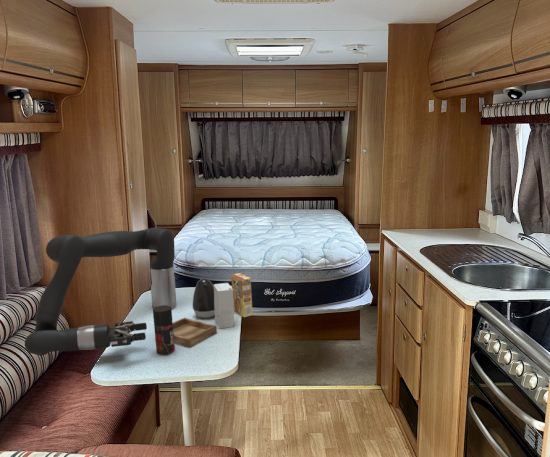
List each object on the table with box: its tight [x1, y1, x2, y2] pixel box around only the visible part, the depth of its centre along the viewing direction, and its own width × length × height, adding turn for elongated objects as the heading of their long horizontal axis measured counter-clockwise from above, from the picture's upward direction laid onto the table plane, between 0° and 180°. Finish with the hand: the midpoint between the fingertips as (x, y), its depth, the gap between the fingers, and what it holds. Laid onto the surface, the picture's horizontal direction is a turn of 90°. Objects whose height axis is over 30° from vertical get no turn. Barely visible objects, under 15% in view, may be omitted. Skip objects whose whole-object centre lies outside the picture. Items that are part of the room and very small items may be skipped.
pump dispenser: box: [192, 277, 215, 319], centre depth 198 cm, size 10×10×15 cm
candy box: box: [230, 272, 253, 318], centre depth 199 cm, size 9×4×15 cm, turn 33°
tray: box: [173, 317, 218, 349], centre depth 181 cm, size 16×14×3 cm
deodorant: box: [152, 305, 176, 356], centre depth 168 cm, size 6×6×15 cm
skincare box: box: [213, 282, 235, 329], centre depth 189 cm, size 8×6×15 cm
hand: (146, 330), depth 166 cm, fingers open, 8 cm apart
